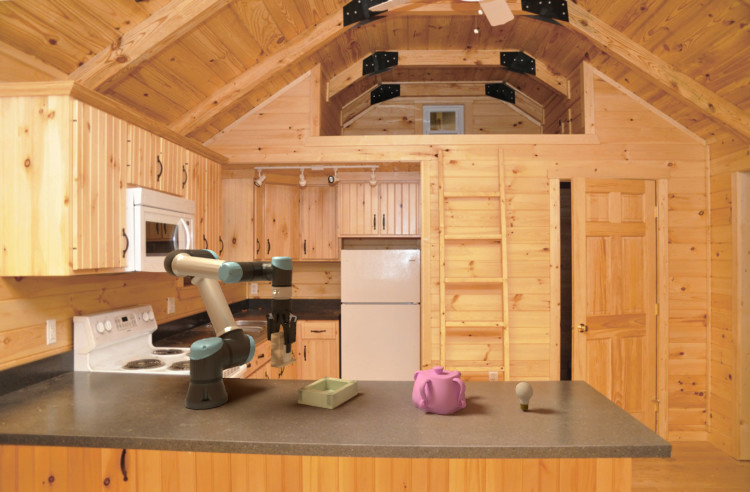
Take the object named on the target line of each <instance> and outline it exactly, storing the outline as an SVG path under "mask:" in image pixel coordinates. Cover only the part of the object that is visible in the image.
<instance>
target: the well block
mask: <svg viewBox="0 0 750 492" xmlns="http://www.w3.org/2000/svg"><path fill="white" fill-rule="evenodd" d="M358 381H359V380H357V381H356V380H351V379H344V378H337V377H331V376H324V377H322V378H320V379H318V380H316V381H314V382H311V383H310V384H307V385H305V386H302V387H301V388H299V389H297V404H301V405H306V406H312V407H318V408H324V409H328V410H333V409H335V408H337V407H339V406H340V405H342V404H344V403H345V402H347V401H348V400H350V399H352V398H354V397H355V396H357V395H358V393H359V391H358V389H359V385H358Z"/></svg>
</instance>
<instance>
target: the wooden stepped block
mask: <svg viewBox="0 0 750 492" xmlns="http://www.w3.org/2000/svg"><path fill="white" fill-rule="evenodd" d="M284 343H285V339H284V332H283V330H282V331H279V332H277V333H273V334H271V341H270V367H271V368H276V369H281V368H283V367H286V366H289V365H291V364H294V363H297V357H292V351H291V352H290V353H289V361H288V362H283V345H284ZM292 344H293V343H291V347H293V346H292Z"/></svg>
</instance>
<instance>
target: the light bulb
mask: <svg viewBox="0 0 750 492" xmlns="http://www.w3.org/2000/svg"><path fill="white" fill-rule="evenodd" d="M515 394H516V396H517V397H518V399H519V404H520V407H519V408H520V410H522V411H523V412H526V411H528V410H529V404H530V400H531V398H532V397H533V395H534V389H533V387H532V385H531V384H530V383H528V382H525V381H521V382H519V383H517V385H516V386H515Z"/></svg>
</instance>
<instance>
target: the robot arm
mask: <svg viewBox="0 0 750 492" xmlns="http://www.w3.org/2000/svg"><path fill="white" fill-rule="evenodd" d="M163 267H164V270H165V272H166V273H167V274H168V275H169V276H172V277H176V278H189V280H190V282H191V284H192V285H194V286H196V288H197V290H198V292H199V295H200V297H201V301H202V302H203V305H204V307H205V310H206V313H207V315H208V317H209V320H210V322H211V325H212V327H213V330H214V332H215V335H216V336H214V337H213V336H212V337H211V336H210V337H206V338H202V339H198V340H196V341H194V342H193V343H191V346H190V348H189V354H188V357H189V385H188V389H187V392H186V396H185V397H184V406H185V408H188V409H191V410H205V409H206V410H207V409H213V408H217V407H219V406H220V407H221V406H222V405H225V404H226V403H227V402H228V401H229V399H228V397H229V396H228V392H227V390H226V386H225V384H224V380H223V379H224V378H223V375H224V374H223V373H224V371H226V370H229V369H233V368H236V367H242V366H244V365H246V364H249V363H251V361H252V360H253V359H254V357H255V353H256V341H255V339H254V337H252V336H250V334H245V332H244V330H243V328H242V327H241V326H238V325H237V323H236V320H235V318H234V316H233V314H232V311H231V308H230V307H229V303H228V301H227V299H226V297H225V294H224V292H223V290H222V287H221V285H220V283H219V281H221V282H222V283H223V284H233V285H234V284H236V283H237V284H239V283H252V282H271V303H270V304H271V305H270V306H271V309H272V311H271V312H270V313H266V314H265V319H266V338H267V339H266V340H267V341H269V342H271V334H273V333H277V332H281V331H280V329H281V327H282V331H283V332H284V339H285V343H284V345H283V362H288V361H289V353H290V352H291V353H292V346H291V343H292V344H293V343H296V342H297V325H298V324H297V322H298V319H299V316H298V315H294V314H293V312H292V308H293V298H292V297H293V269H294V267H293V258H292V257H291V256H272V258H271V261H265V260H254V261H253V260H252V261H233V260H226V259H225V260H222V259H220V257H219V255H218V254H217V253H216V251H214V250H211V249H204V248H199V249H198V248H197V249H195V248H194V249H191V248H190V249H188V248H187V249H184V248H182V249H181V248H180V249H175V250H172V251H170V252H169V253H167V254H166V256H165V257H164V260H163Z"/></svg>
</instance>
